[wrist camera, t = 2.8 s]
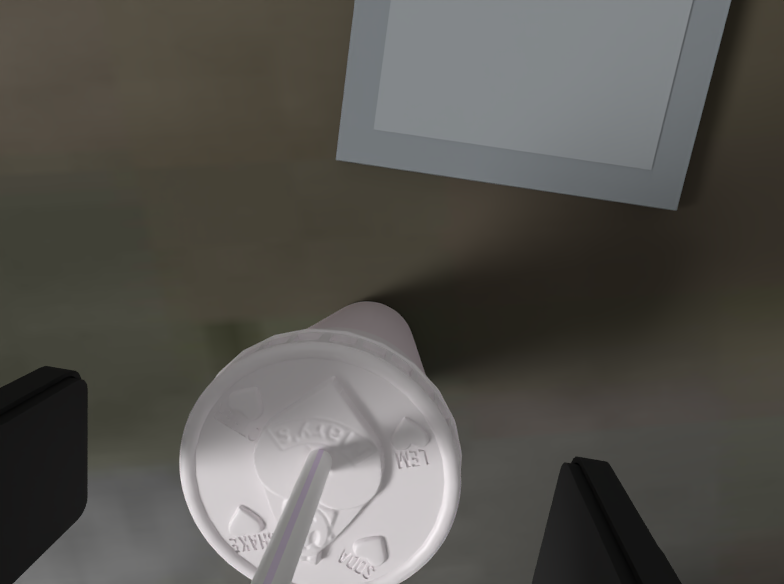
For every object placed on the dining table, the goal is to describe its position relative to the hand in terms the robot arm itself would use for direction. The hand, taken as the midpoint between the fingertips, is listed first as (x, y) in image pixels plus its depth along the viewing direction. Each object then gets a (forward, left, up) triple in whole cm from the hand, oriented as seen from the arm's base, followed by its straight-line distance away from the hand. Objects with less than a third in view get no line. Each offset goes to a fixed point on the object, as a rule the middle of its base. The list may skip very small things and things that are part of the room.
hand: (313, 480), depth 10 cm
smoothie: (-1, 0, -11) cm, 11 cm away
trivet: (+12, -4, -11) cm, 17 cm away
